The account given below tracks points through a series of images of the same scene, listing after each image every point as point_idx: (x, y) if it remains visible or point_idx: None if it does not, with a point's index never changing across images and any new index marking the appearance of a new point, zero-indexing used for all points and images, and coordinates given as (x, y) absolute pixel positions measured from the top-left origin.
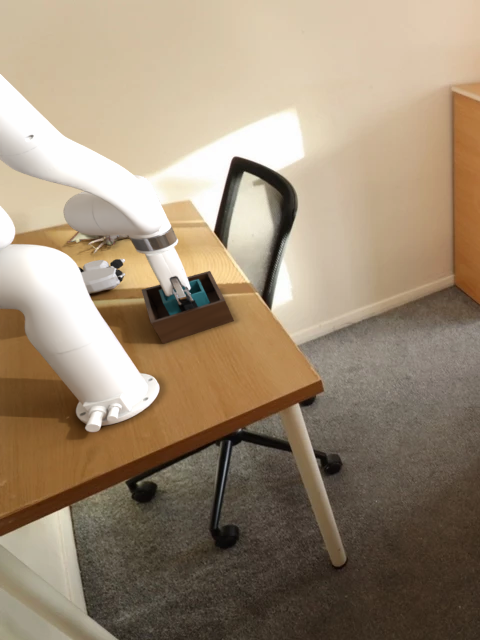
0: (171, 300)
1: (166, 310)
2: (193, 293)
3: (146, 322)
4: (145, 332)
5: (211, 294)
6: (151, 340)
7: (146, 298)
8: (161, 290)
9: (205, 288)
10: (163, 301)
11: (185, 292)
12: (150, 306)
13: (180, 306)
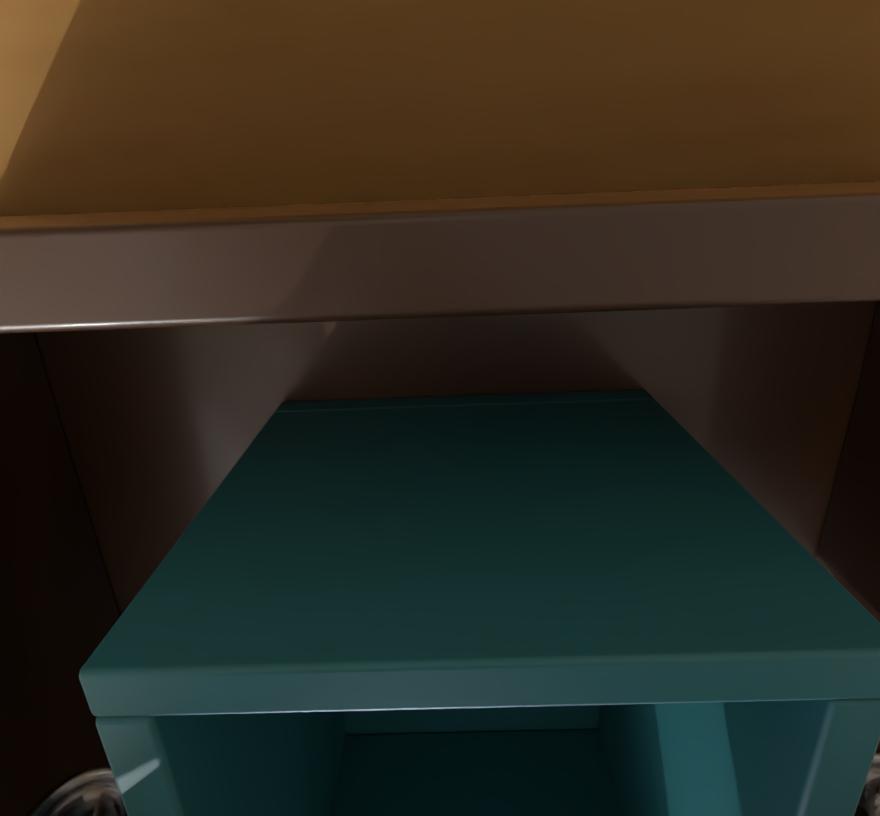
0: (149, 810)
1: (720, 347)
2: (648, 791)
3: (645, 60)
4: (379, 23)
5: None
6: (130, 85)
7: (865, 258)
8: (829, 695)
9: None
10: (168, 689)
11: (673, 784)
12: (330, 318)
13: (85, 772)
